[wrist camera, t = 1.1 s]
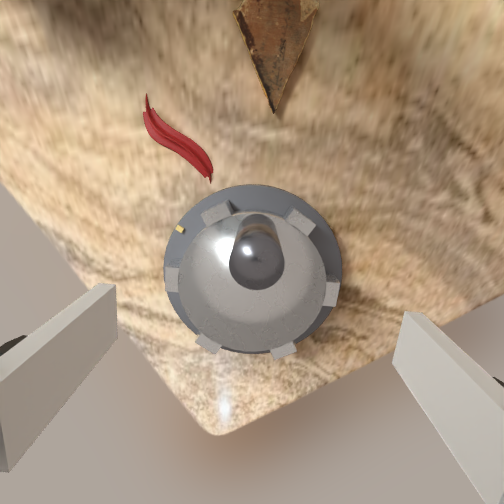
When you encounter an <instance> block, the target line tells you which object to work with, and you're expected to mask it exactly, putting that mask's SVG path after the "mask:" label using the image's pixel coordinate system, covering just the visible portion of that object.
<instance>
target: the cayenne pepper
mask: <svg viewBox="0 0 504 504" xmlns="http://www.w3.org/2000/svg"><path fill="white" fill-rule="evenodd" d="M143 117H144V122H145V126H146V129H147V131H148V133H149V135H150V136H151V137H152V138H153V139H154V140H155V141H156V142H158V143H159V144H161V145H163V146H165V147H167V148H170V149H171V150H173V151H175V152H177V153H178V154H179V155H181V156H182V157H183V158H185V159H186V160H187V161H188V162H189V163H191V164H192V165H193V166H194V167H195V168H196V169H197V170H198V171H199V172H200V173H201V174H202V175H203V176H204V177H205V178H206V177H207V176H208V177H209V180H210V184H211V173H213V168H212V164H211V162H210V160H209V158H208V156H207V155H206V153H205V152H204V151H203V149H202V148H201V147H200V146H199V145H197V144H196V143H195V142H194V141H193V140H191V139H190V138H188V137H187V136H185V135H183V134H181V133H180V132H178V131H176V130H174V129H173V128H171V127H170V126H169V125H167V124H166V123H165V122H163V121H162V120H161V119H160V117H159V116H158V115H157V113H156V112H155V110H154V108H152V109H150V108H149V104H148V99H147V93H146V112H143Z"/></svg>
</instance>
